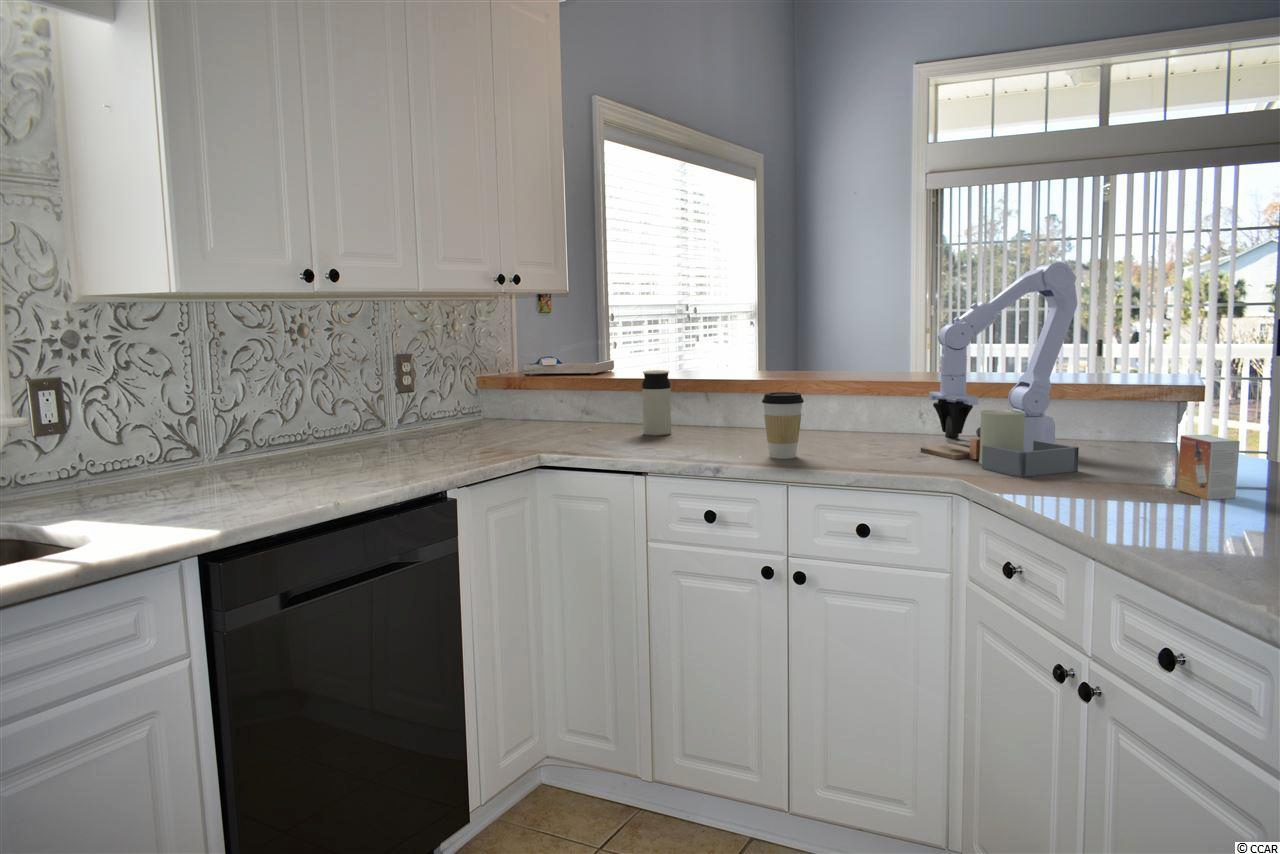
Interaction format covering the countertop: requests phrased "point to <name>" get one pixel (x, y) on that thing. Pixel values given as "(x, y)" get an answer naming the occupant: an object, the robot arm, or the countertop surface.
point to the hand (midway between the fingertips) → (952, 432)
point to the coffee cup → (782, 423)
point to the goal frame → (1031, 459)
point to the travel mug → (656, 403)
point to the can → (1002, 429)
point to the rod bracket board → (948, 451)
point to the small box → (1208, 466)
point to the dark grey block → (953, 439)
